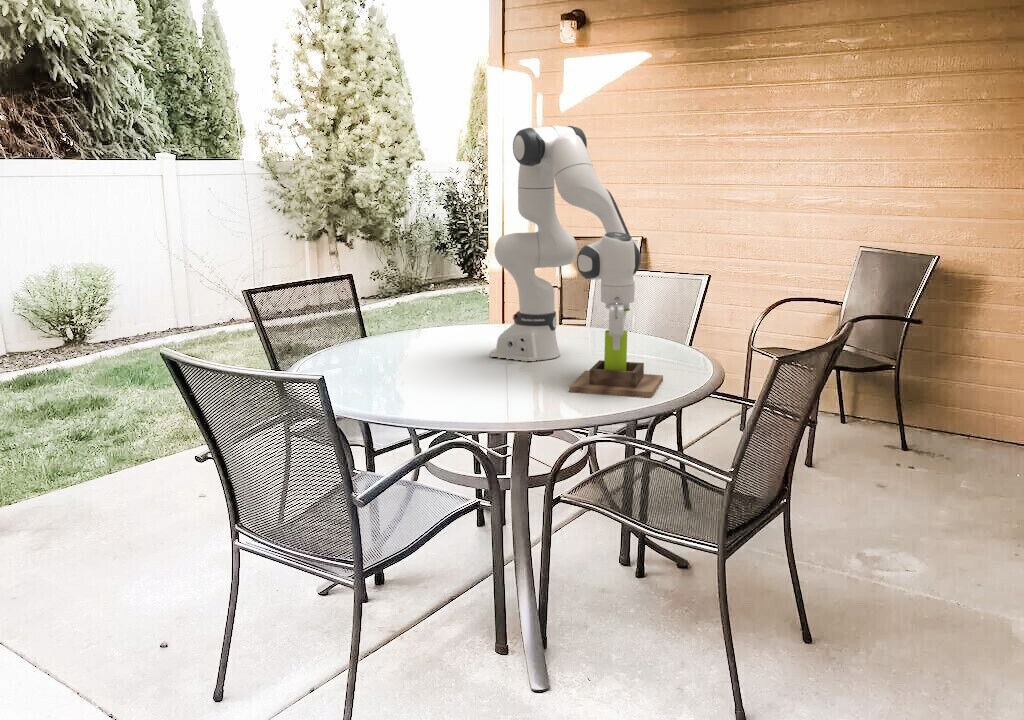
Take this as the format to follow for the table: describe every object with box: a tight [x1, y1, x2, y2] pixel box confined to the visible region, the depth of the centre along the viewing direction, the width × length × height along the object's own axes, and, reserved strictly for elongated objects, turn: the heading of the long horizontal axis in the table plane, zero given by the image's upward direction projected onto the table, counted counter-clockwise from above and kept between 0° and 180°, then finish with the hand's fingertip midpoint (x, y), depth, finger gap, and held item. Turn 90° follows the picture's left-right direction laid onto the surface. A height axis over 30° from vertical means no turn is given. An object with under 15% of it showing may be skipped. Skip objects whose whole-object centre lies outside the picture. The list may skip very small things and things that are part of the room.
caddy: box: [568, 359, 664, 398], centre depth 210 cm, size 22×18×6 cm
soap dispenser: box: [603, 307, 631, 371], centre depth 208 cm, size 6×7×20 cm
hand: (617, 346), depth 209 cm, fingers closed on soap dispenser, 6 cm apart
